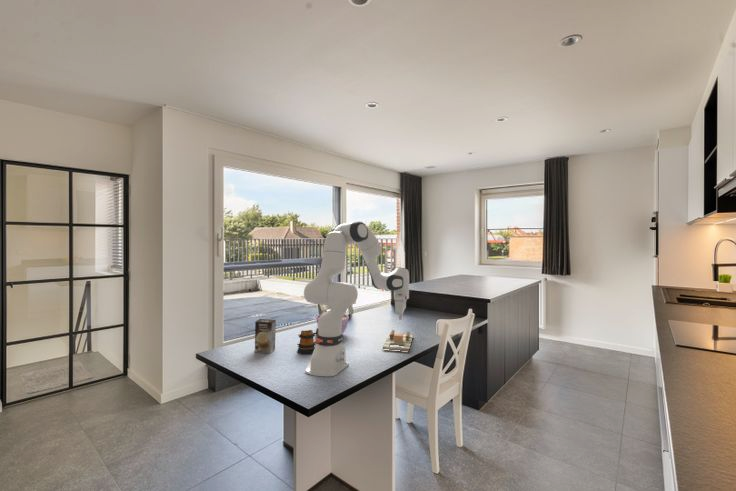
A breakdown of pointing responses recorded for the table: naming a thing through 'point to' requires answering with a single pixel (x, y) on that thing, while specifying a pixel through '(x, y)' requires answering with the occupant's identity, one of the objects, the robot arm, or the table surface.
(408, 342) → the tunnel board
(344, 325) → the bowl of food
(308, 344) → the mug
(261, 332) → the coffee box
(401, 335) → the block
